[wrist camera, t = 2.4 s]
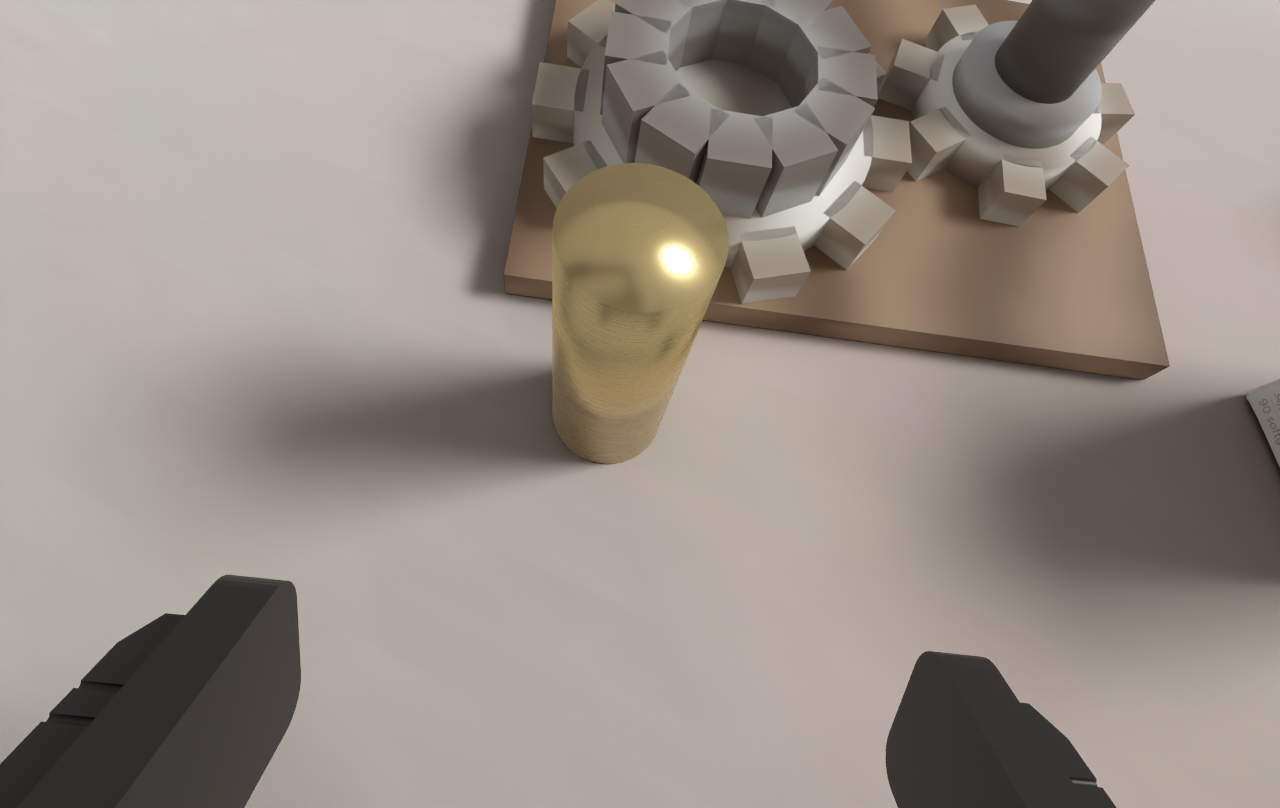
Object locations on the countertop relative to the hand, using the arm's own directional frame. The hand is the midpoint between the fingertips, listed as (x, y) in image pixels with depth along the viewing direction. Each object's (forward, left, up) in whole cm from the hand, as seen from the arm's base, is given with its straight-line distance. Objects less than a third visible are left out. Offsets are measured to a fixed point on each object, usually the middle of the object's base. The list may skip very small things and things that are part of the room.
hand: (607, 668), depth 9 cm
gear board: (+8, +21, -12) cm, 26 cm away
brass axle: (0, +8, -12) cm, 15 cm away
